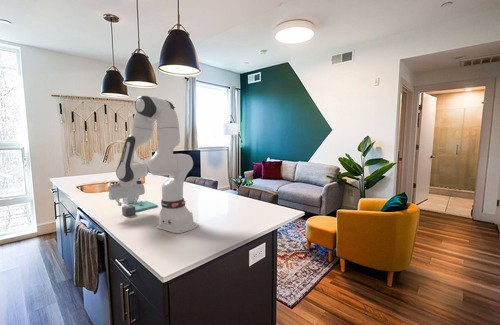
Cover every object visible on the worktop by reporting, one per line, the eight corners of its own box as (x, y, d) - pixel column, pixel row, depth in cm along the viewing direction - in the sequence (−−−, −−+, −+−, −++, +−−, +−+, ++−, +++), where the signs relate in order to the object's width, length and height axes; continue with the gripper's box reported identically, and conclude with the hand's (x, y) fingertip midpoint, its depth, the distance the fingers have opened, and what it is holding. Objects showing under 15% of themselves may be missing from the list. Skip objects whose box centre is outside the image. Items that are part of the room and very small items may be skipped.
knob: (135, 214, 146) (135, 206, 145) (126, 216, 141) (125, 208, 141) (131, 212, 149) (131, 204, 149) (122, 214, 145) (121, 206, 144)
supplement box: (127, 204, 166) (126, 187, 165) (122, 202, 171) (121, 185, 170) (137, 202, 172) (136, 185, 171) (132, 200, 177) (131, 184, 175)
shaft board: (157, 206, 162) (157, 200, 161) (134, 212, 150) (133, 205, 149) (146, 202, 172) (146, 196, 171) (123, 207, 160) (123, 201, 159)
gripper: (110, 185, 133) (111, 209, 135) (145, 180, 149) (146, 201, 151) (106, 183, 137) (107, 206, 139) (141, 179, 153) (141, 199, 155)
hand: (127, 204), depth 145 cm, fingers open, 8 cm apart
